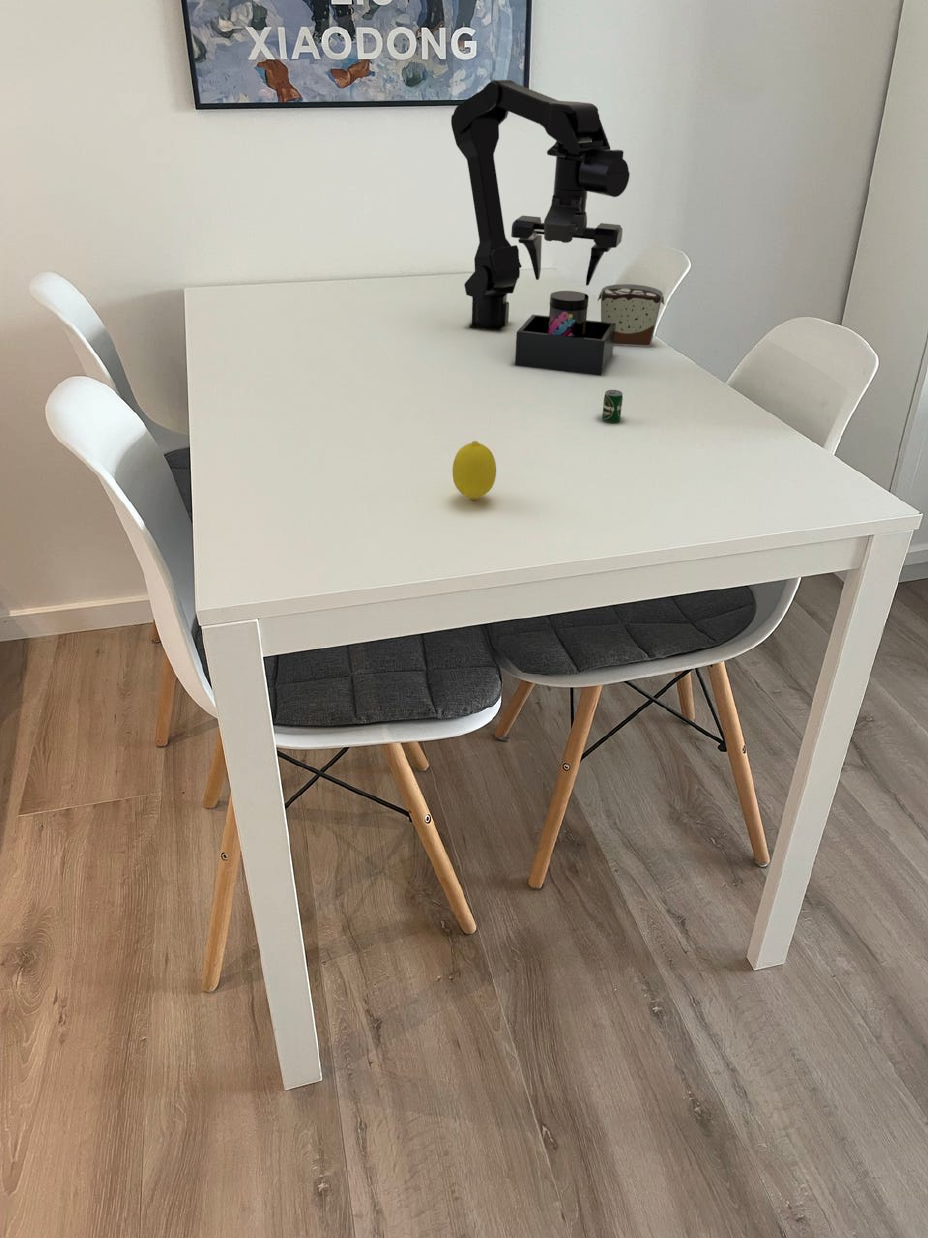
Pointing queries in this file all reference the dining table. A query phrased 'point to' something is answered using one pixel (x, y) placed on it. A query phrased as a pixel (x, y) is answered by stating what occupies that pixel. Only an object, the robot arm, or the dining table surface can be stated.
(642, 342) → the food container
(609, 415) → the beer can
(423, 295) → the dining table surface
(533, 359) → the basin
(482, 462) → the lemon
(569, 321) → the supplement container
